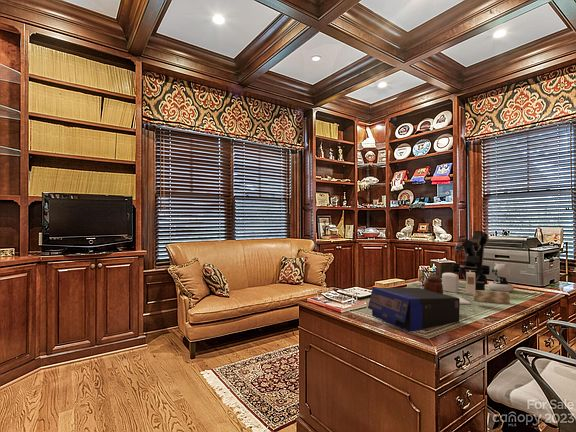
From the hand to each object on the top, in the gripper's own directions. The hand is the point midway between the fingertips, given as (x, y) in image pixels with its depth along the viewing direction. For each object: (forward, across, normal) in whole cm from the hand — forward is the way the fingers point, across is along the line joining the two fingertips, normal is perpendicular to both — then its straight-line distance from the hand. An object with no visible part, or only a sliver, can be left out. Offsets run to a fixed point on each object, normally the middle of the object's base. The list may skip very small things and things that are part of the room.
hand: (470, 280), depth 179 cm
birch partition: (0, +11, +19) cm, 21 cm away
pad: (+7, -8, +12) cm, 16 cm away
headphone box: (+40, -25, -21) cm, 52 cm away
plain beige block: (+4, 0, +6) cm, 7 cm away
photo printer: (-10, -11, +30) cm, 34 cm away
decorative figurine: (-26, +18, +46) cm, 56 cm away
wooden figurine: (+23, -17, -4) cm, 29 cm away
